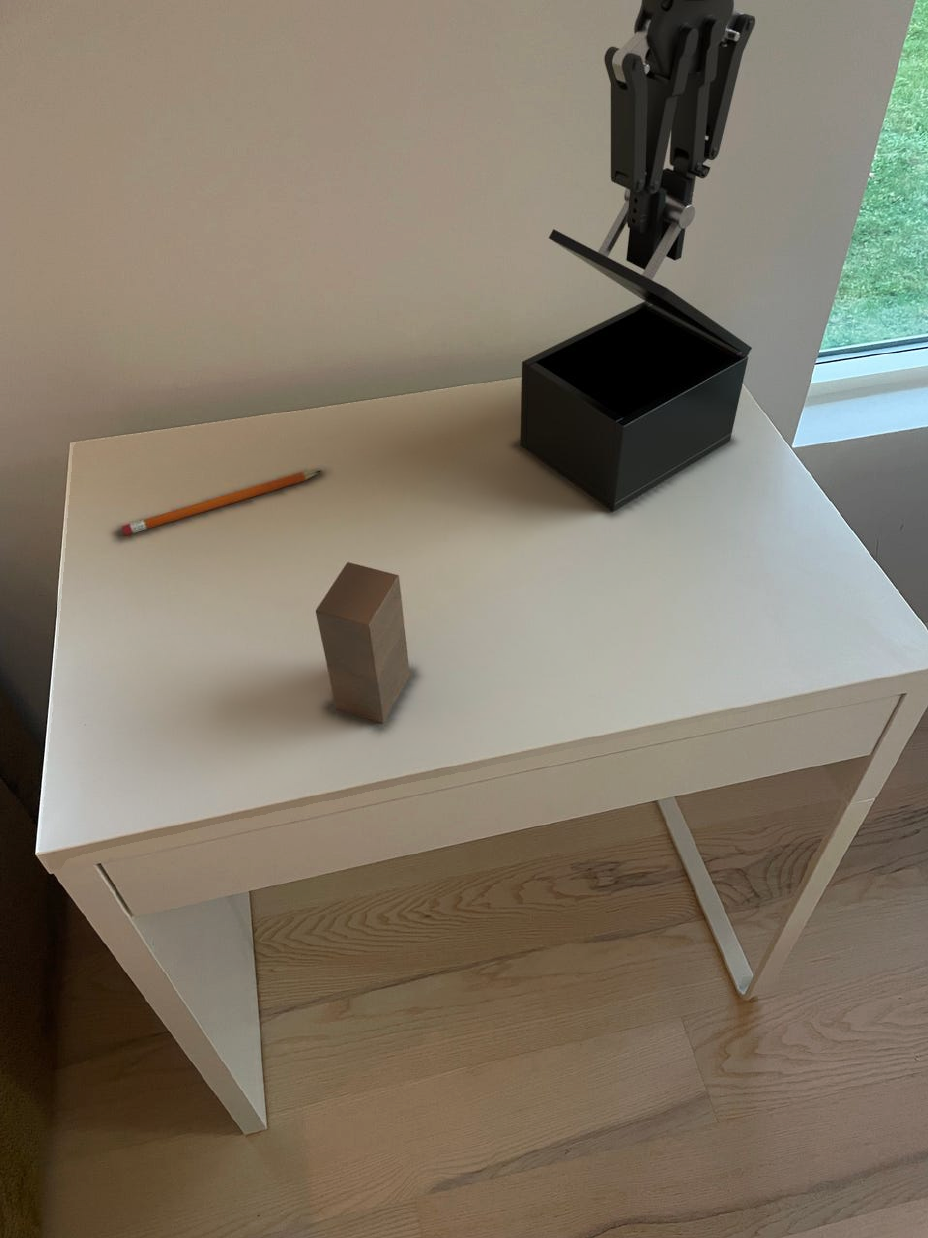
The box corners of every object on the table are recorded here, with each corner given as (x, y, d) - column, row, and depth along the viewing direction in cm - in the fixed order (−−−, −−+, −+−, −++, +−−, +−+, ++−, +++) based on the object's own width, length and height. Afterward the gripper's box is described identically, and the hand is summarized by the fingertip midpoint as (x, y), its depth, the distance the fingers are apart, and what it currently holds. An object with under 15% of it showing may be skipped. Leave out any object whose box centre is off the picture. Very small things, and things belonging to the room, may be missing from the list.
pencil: (123, 531, 87) (121, 524, 87) (321, 471, 92) (320, 464, 92) (125, 537, 87) (123, 530, 86) (324, 476, 92) (323, 469, 91)
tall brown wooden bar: (410, 674, 75) (399, 574, 67) (383, 723, 72) (369, 625, 64) (363, 661, 76) (347, 561, 68) (335, 709, 73) (315, 610, 65)
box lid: (662, 298, 73) (713, 208, 71) (548, 237, 80) (592, 154, 78) (747, 356, 86) (793, 281, 84) (643, 299, 93) (683, 229, 91)
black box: (613, 512, 87) (623, 426, 80) (519, 445, 94) (521, 361, 87) (730, 441, 94) (749, 356, 87) (634, 383, 100) (645, 300, 94)
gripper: (730, -114, 68) (682, 214, 86) (571, -73, 62) (554, 272, 79) (819, -95, 64) (749, 245, 82) (658, -49, 58) (620, 309, 75)
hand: (653, 258), depth 80 cm, fingers open, 2 cm apart
